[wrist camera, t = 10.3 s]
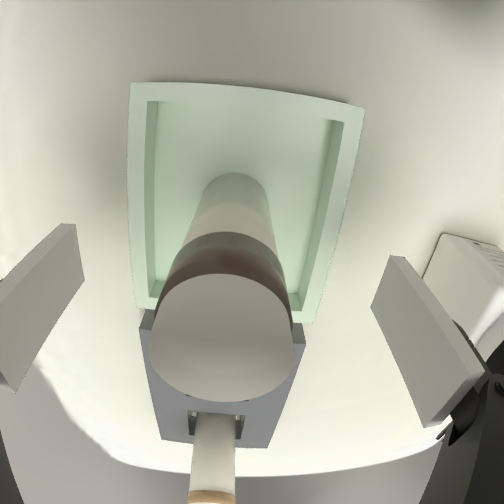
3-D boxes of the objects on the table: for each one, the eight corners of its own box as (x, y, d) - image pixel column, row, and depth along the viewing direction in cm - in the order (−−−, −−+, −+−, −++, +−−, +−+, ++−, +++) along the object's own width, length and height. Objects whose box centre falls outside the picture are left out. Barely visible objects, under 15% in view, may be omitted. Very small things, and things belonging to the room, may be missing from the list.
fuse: (196, 394, 28) (185, 503, 18) (238, 397, 29) (237, 508, 18) (197, 414, 30) (187, 512, 20) (235, 417, 31) (234, 516, 20)
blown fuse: (201, 168, 17) (135, 291, 7) (274, 175, 18) (315, 308, 7) (197, 233, 19) (152, 395, 9) (264, 239, 20) (282, 406, 9)
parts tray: (145, 83, 15) (130, 82, 13) (350, 105, 16) (365, 108, 14) (145, 286, 22) (135, 307, 20) (307, 301, 23) (312, 323, 20)
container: (462, 315, 24) (527, 415, 13) (404, 312, 24) (469, 439, 12) (497, 245, 21) (588, 338, 9) (440, 230, 20) (549, 348, 9)
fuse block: (147, 307, 23) (138, 328, 21) (301, 321, 24) (306, 343, 21) (164, 422, 31) (161, 439, 29) (266, 430, 32) (267, 448, 30)
